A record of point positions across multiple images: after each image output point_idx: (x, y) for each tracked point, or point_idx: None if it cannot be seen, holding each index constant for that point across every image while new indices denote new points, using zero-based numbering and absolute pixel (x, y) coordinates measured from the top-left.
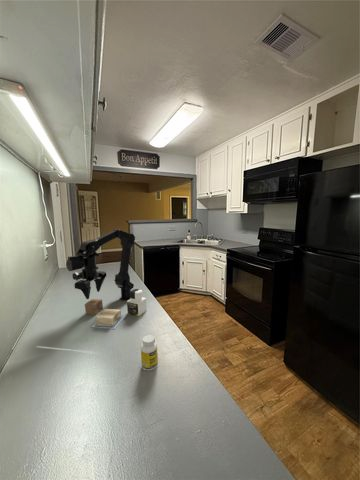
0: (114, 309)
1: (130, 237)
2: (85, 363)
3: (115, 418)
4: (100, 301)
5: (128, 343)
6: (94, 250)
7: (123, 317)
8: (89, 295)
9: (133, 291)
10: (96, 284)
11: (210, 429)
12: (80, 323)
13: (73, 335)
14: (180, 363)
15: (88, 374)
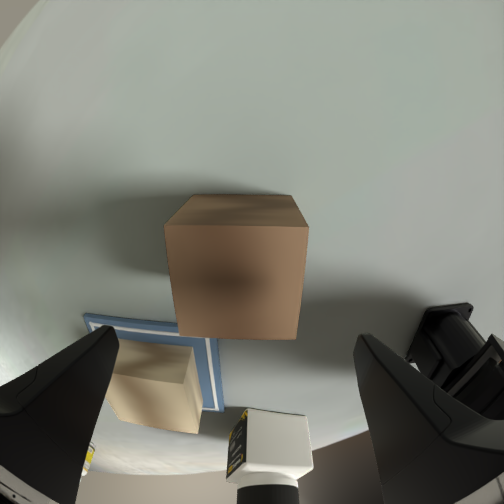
0: (192, 417)
1: None
2: (15, 358)
3: None
4: (265, 334)
5: (100, 422)
6: None
7: (203, 408)
8: (105, 390)
9: None
10: (409, 418)
11: None
12: (95, 233)
13: (31, 268)
14: (111, 463)
15: (12, 370)
